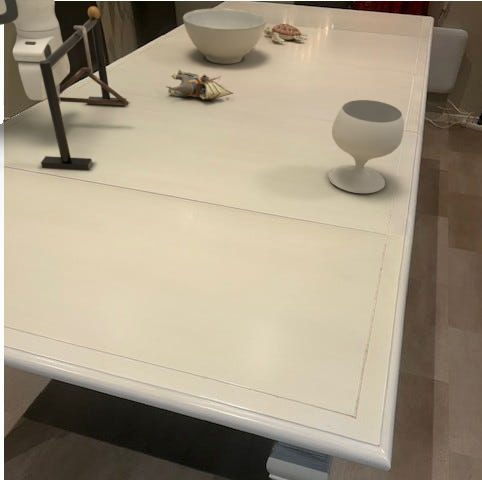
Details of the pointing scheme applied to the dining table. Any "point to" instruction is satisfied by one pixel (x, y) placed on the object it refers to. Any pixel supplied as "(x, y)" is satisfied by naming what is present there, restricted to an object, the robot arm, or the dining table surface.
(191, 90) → the figurine
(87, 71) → the hanger
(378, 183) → the chalice
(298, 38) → the decorative turtle
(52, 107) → the rail
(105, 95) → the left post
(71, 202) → the dining table surface
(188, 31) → the decorative bowl
